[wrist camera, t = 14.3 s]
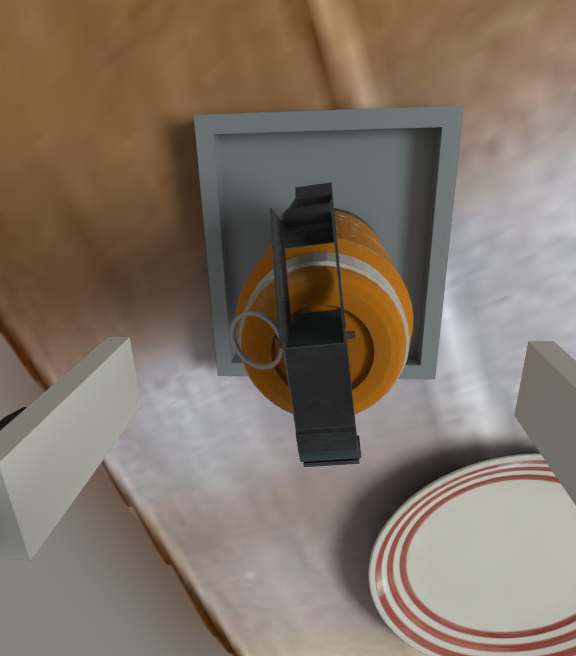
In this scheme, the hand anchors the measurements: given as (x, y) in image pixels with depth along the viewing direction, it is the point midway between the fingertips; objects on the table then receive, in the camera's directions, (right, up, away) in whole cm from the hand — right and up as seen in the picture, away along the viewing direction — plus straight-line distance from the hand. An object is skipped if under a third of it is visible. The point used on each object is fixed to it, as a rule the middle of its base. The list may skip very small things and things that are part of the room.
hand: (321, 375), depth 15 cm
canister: (+2, +7, +19) cm, 21 cm away
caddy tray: (+2, +8, +20) cm, 21 cm away
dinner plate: (+21, -20, +30) cm, 41 cm away
